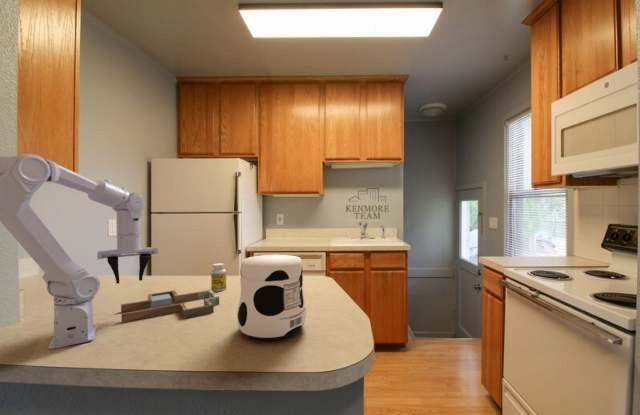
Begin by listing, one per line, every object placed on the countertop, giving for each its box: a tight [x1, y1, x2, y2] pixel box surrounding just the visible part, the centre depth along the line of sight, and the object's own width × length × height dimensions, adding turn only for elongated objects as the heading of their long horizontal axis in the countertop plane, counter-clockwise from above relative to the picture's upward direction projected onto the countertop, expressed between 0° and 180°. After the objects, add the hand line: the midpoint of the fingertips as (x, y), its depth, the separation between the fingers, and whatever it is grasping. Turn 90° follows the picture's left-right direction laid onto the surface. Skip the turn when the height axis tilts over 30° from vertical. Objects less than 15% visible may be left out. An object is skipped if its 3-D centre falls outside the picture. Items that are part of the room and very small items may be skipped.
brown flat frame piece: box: [120, 289, 220, 323], centre depth 91 cm, size 23×26×2 cm
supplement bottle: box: [210, 262, 227, 292], centre depth 110 cm, size 5×5×10 cm
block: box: [150, 294, 172, 309], centre depth 89 cm, size 5×5×4 cm
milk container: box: [236, 254, 307, 341], centre depth 75 cm, size 17×17×18 cm
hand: (129, 281), depth 84 cm, fingers open, 5 cm apart
